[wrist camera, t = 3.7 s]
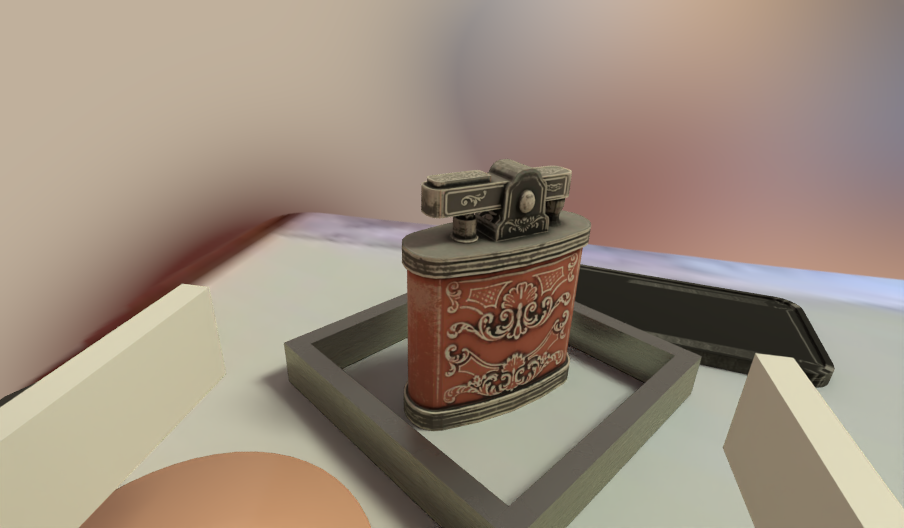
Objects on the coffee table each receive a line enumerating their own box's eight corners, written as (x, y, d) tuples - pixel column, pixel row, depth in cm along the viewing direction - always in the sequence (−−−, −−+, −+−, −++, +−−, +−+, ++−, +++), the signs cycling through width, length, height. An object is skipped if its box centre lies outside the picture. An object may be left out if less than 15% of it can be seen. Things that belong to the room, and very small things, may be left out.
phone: (841, 379, 22) (513, 312, 27) (833, 399, 23) (511, 330, 27) (797, 299, 29) (540, 256, 34) (791, 316, 30) (538, 271, 34)
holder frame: (691, 393, 22) (701, 356, 21) (507, 590, 14) (512, 543, 13) (481, 292, 30) (483, 261, 30) (289, 380, 22) (283, 342, 21)
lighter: (537, 344, 26) (561, 146, 21) (584, 382, 23) (622, 165, 19) (390, 393, 22) (384, 165, 18) (426, 445, 19) (428, 191, 15)
